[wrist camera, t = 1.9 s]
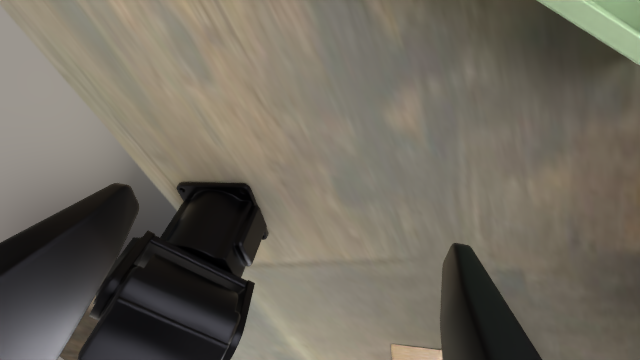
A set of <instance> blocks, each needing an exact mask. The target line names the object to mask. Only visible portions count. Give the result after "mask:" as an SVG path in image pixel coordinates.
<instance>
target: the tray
mask: <svg viewBox="0 0 640 360" xmlns="http://www.w3.org/2000/svg"><path fill="white" fill-rule="evenodd" d="M537 1H538V2H540V3H542V4H543V5H545V6H546V7H548V8H549V9H551V10H553V11H554V12H556V13H557V14H559V15H561V16H562V17H564V18H565V19H567V20H568V21H570V22H572V23H573V24H575V25H576V26H578V27H579V28H581V29H583V30H584V31H586V32H587V33H589V34H591V35H592V36H594V37H595V38H597V39H598V40H600V41H602V42H603V43H605V44H606V45H608V46H610V47H611V48H613V49H614V50H616V51H617V52H619V53H621V54H622V55H624V56H625V57H627V58H629V59H630V60H632V61H633V62H635V63H636V64H638V65H640V0H537Z"/></svg>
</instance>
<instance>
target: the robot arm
mask: <svg viewBox="0 0 640 360" xmlns="http://www.w3.org/2000/svg"><path fill="white" fill-rule="evenodd" d="M177 190H178V192H179V194H180V196H181V197H182V199H183V201H184V202H183V204H182V205H181V207H180V208H179V210H178V211H177V213H176V214H175V216H174V217H173V219H172V220H171V222H170V223H169V225H168V227H167V228H166V230H165V232H164V233H163V234H162V236H161V237H160V238H159V237H157V236H155V234H154V233H152V232H150V231H147V232H146V233H145V235H144V236H143V237H141V238H133V239H132V240H131V241H130V243H129V244H128V245H127V247H126V248H125V250H124V251H123V253H122V254H121V255H120V256H119V257H118V255H119V253H120V251H121V249H122V246H123V244H124V242H125V240H126V238H127V236H128V233H129V231H130V229H131V227H132V225H133V223H134V220H135V218H136V216H137V214H138V211H139V204H138V201H137V199H136V197H135V195H134V192H133V190H132V188H131V187H130V186H129V185H125V184H119V183H114V184H111V185H109V186H108V187H106V188H104V189H102V190H100V191H98V192H96V193H94V194H92V195H90V196H88V197H87V198H85V199H83V200H81V201H79V202H77V203H75V204H74V205H71V206H69V207H68V208H66V209H64V210H62V211H60V212H58V213H56V214H54V215H52V216H50V217H49V218H47V219H45V220H43V221H41V222H39V223H37V224H35V225H33V226H31V227H29V228H28V229H26V230H24V231H22V232H20V233H18V234H16V235H14V236H12V237H10V238H9V239H7V240H5V241H3V242H1V243H0V360H57V359H58V357H59V356H60V354H61V352H62V351H63V349H64V347H65V346H66V344H67V342H68V340H69V339H70V337H71V335H72V334H73V332H74V330H75V329H76V327H77V325H78V324H79V322H80V320H81V319H82V317H83V315H84V313H85V312H86V310H87V308H88V307H89V305H90V303H91V302H92V300H93V298H94V297H95V295H96V299H95V301H94V303H93V304H95V305H94V307H93V309H92V311H91V313H90V315H89V316H90V317H92V318H94V319H97V320H99V322H98V323H97V325H96V326H95V328H94V330H93V331H92V333H91V334H90V336H89V338H88V339H87V341H86V342H85V344H84V345H83V347H82V349H81V351H80V353H79V357H78V360H230V359H231V357H232V356H233V354H234V352H235V350H236V348H237V346H238V344H239V341H240V339H241V336H242V334H243V331H244V327H245V323H246V319H247V314H248V310H249V306H250V302H251V297H252V293H253V289H254V284H255V283H253V282H251V281H249V280H248V281H246V280H244V279H242V278H241V276H242V274H243V272H244V269H245V267H246V266H250V265H251V264H252V263H253V260H254V258H255V255H256V253H257V250H258V247H259V245H260V242H261V240H264V239H266V238H267V236H268V231H267V229H266V224H265V221H264V219H263V216H262V214H261V211H260V208H259V207H258V205H257V203H256V200H255V198H254V195H253V193H252V190H251V188H250V186H249V185H247V184H244V183H197V182H181V183H179V184H178V186H177ZM117 257H118V259H117ZM116 259H117V260H116ZM440 330H441V344H442V357H443V360H542V359H541V357H540V355H539V354H538V352H537V351H536V349H535V347H534V346H533V344H532V343H531V341H530V340H529V338H528V336H527V335H526V333H525V332H524V330H523V329H522V327H521V325H520V324H519V322H518V321H517V319H516V317H515V316H514V314H513V313H512V311H511V310H510V308H509V306H508V305H507V303H506V302H505V300H504V299H503V297H502V295H501V294H500V292H499V291H498V289H497V287H496V286H495V284H494V283H493V281H492V280H491V278H490V276H489V275H488V273H487V272H486V270H485V269H484V267H483V265H482V264H481V262H480V261H479V259H478V257H477V256H476V254H475V253H474V251H473V250H472V248H471V247H470V246H468V245H464V244H458V243H454V244H452V246H451V247H450V249H449V252H448V254H447V256H446V258H445V260H444V263H443V269H442V290H441V313H440Z"/></svg>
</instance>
